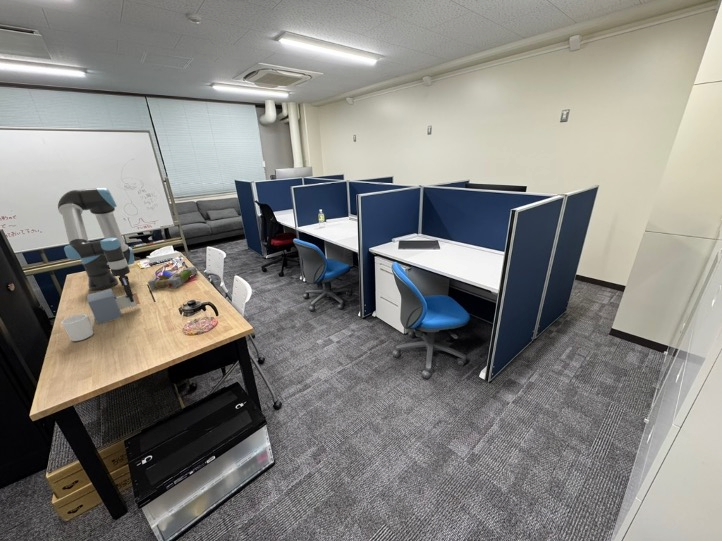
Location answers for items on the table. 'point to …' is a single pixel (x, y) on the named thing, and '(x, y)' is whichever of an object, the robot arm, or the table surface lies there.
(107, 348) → the table surface
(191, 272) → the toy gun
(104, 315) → the block
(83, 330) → the mug
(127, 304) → the slim white post
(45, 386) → the table surface
